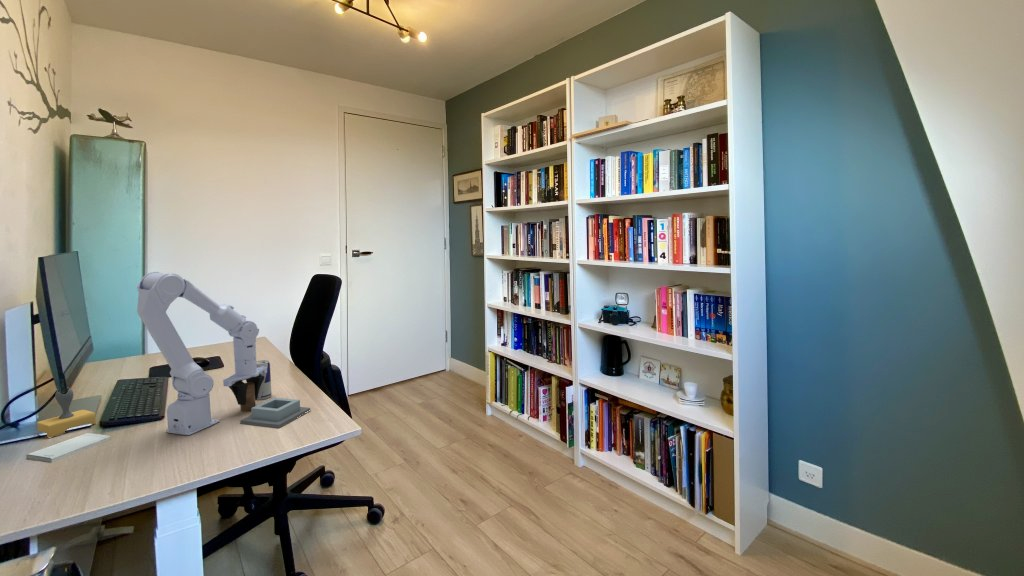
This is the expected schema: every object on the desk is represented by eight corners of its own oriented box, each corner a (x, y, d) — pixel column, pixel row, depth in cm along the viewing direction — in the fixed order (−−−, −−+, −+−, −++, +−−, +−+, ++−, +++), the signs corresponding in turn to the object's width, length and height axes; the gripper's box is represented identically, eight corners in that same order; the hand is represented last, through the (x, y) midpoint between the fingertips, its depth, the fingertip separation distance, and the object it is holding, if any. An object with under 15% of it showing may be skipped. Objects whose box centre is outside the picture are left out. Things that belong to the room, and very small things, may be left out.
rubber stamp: (49, 439, 114) (44, 394, 113) (37, 435, 116) (32, 391, 115) (96, 424, 123) (92, 383, 122) (84, 421, 126) (80, 380, 124)
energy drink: (275, 394, 148) (273, 360, 147) (264, 400, 143) (262, 364, 142) (260, 394, 149) (258, 359, 147) (249, 399, 143) (247, 364, 142)
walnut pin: (248, 412, 133) (247, 386, 132) (237, 411, 134) (236, 385, 133) (258, 407, 137) (257, 382, 136) (248, 406, 138) (246, 381, 137)
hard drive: (51, 458, 102) (110, 435, 114) (25, 454, 104) (86, 432, 116) (52, 464, 102) (110, 441, 114) (26, 460, 104) (86, 438, 116)
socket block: (279, 428, 122) (278, 414, 121) (240, 423, 125) (239, 410, 124) (310, 410, 134) (309, 398, 134) (274, 407, 137) (273, 394, 137)
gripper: (236, 366, 126) (239, 411, 127) (274, 354, 140) (276, 395, 141) (216, 364, 127) (219, 409, 129) (255, 352, 141) (257, 393, 143)
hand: (247, 401), depth 135 cm, fingers closed on walnut pin, 4 cm apart
